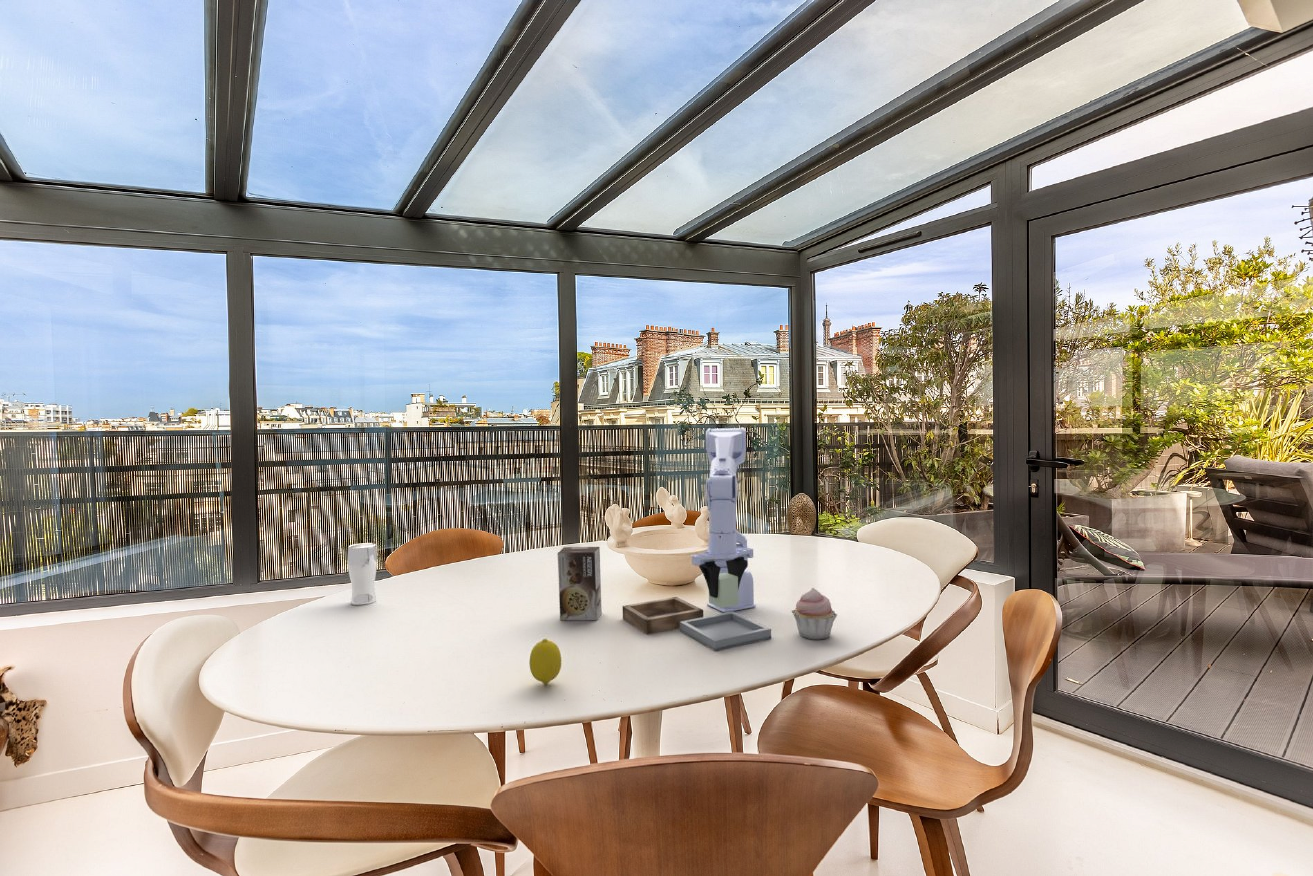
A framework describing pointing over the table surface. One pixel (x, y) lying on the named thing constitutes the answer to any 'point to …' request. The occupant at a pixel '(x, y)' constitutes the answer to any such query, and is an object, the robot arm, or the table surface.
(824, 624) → the cupcake
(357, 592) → the beer glass
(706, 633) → the tray
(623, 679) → the table surface
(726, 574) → the block
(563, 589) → the coffee box
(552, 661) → the lemon
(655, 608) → the frame
